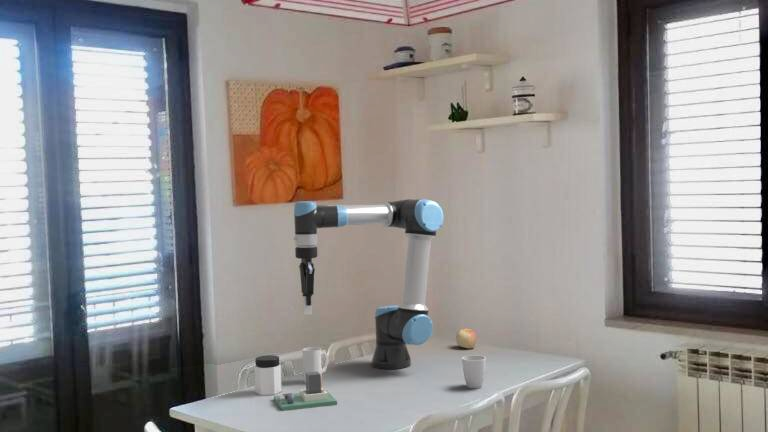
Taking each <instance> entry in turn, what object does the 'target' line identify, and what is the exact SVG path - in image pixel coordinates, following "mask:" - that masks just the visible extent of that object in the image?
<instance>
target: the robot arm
mask: <svg viewBox="0 0 768 432" xmlns="http://www.w3.org/2000/svg"><path fill="white" fill-rule="evenodd" d="M293 210H294V211H293V216H294V237H293V241H294V243H295V249H294V250H295V258H296V259H300V260H301V261H300V263H299V265H298V268H299V273H300V285H301V286H300V287H301V293H302V298H303V315H304V316H310V315H311V316H312V315H313V295H314V293H315V292H314V286H315V285H314V284H315V282H314V281H315V269H316V268H315V267H314V262H313V260H312V259H316V258H317V257H318V246H317V245H318V230H317V229H322V228H323V229H327V228H329V229H331V228H337V229H338V228H342V227H345V226H365V225H366V226H371V225H373V226H374V225H377V226H378V225H381V226H383V227H385V228H390V227H391V228H398V229H404V230H405V231H404V235H405V236H406V237H407V238H408V241H407V249H406V250H407V252H406V261H405V271H404V279H403V280H404V281H403V291H402V299H401V303H399V304H398V305H397V304H396V305H385V306H380V307H377V308H376V309H375V313H374V314H375V316H374V319H375V321H374V322H375V348H374V352H373V356H372V357H371V366H372V367H373V368H376V369H382V370H383V369H384V370H397V369H403V368H408V367H410V366H412V360H411V359H412V358H411V355H410V352H409V350H408V347H407V345H409V346H412V345H414V346H421V345H423V344H425V343H426V342H427V341H428V340H429V339H430V338H431V335H432V333H433V330H434V326H433V325H434V324H433V321H432V320H431V317H430V316H429V308H428V307H427V305H426V298H427V296H426V295H427V288H428V287H427V286H428V278H429V276H428V275H429V269H430V268H429V266H430V256H431V245H432V241H433V240H434V239H435V238H436V235H437V231H439V229H440V228H441V227H442V226H443V223H444V219H445V218H444V212H443V209H442V208H441V206H440V205H439V203H437V202H436V201H434V200H431V199H430V200H429V199H402V200H396V201H384V202H382V203H381V204H330V205H329V204H328V205H327V204H326V205H324V204H322V205H321V204H320V205H319V204H318V205H317V203H316V201H313V200H312V201H307V200H306V201H297V202H295V203H294V209H293Z"/></svg>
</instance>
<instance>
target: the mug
mask: <svg viewBox="0 0 768 432" xmlns="http://www.w3.org/2000/svg"><path fill="white" fill-rule="evenodd" d="M322 356H323V357H324V364H323V363H322ZM322 364H323V367H322ZM328 365H329V356H328V353H327V352H326V349H322V348H321V347H318V346H317V347H315V346H310V347H305V348H302V367H303V383H304V384H306V373H307V372H316V371H317V372H319V373H320V375H321V382H322V381H323V380H322V379H323V378H322V375H323V373H326V371H327V368H328Z"/></svg>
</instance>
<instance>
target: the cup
mask: <svg viewBox="0 0 768 432" xmlns="http://www.w3.org/2000/svg"><path fill="white" fill-rule="evenodd" d="M461 359H462V362H461V363H462V371H463V377H464V381H465V384H466V387H467V388H469V389H481V388H482V387H483V384H484V380H485V374H486V363H487V361H486V360H487V357H486V356H484V355H478V354H472V355H471V354H470V355H464V356H463V357H461Z"/></svg>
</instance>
